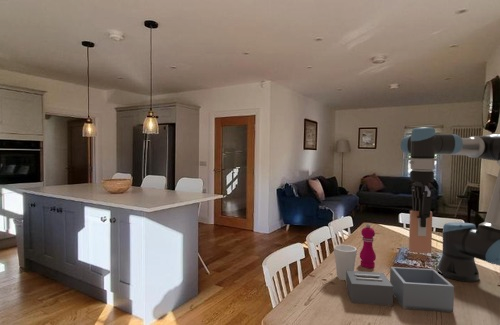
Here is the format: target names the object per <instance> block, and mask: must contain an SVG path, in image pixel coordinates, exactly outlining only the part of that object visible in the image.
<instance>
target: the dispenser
mask: <svg viewBox="0 0 500 325" xmlns="http://www.w3.org/2000/svg"><path fill="white" fill-rule="evenodd" d="M345 282H346V283H345V288H346V291H347V294H348V297H349V300H350V302H351V303H352V304H363V305H365V304H366V305H377V306H378V305H379V306H393V305H394V304H393V303H394V302H393V301H394V300H393V297H394V294H393V286H392V284H391V283H390V279H389V278H388V277H387V276H386V274H385V273H384V272H375V271H359V270H354V271H346V281H345Z"/></svg>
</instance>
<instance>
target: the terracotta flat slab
mask: <svg viewBox="0 0 500 325" xmlns="http://www.w3.org/2000/svg"><path fill="white" fill-rule="evenodd" d="M417 216H419V211H413V210H409V230H408V231H409V232H408V234H409V235H408V236H409V238H408V252H410V253H418V254H432V247H433V246H432V244H433V243H432V238H433V236H432V235H433V212H432V211H430V218H427V224H426V236H418V235H417V229H418V218H417Z"/></svg>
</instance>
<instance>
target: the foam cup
mask: <svg viewBox="0 0 500 325" xmlns="http://www.w3.org/2000/svg"><path fill="white" fill-rule="evenodd" d="M357 250H358V249H357V247H355V246H354V245H349V244H336V245H334V246H333V254H334V260H335V267H336V268H335V269H336V275H337V277H338V278H339V279H338V278H337V277H336V278H337V279H338V280H340V279H341V281H344V280H345V281H344V282H346V271H355V265H356V264H355V263H356V258H357V255H358V254H357V252H358V251H357Z"/></svg>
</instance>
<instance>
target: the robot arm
mask: <svg viewBox="0 0 500 325" xmlns="http://www.w3.org/2000/svg"><path fill="white" fill-rule="evenodd" d="M400 149H401V151H402V152H403V153H405V154H410V161H409V164H410V170H411V171H409V174H410V175H409V180H410V181H411V182H414V186H411V187H410V189H411V199H412V200H411V201H412V206H411V207H412V211H419V216H417V218H418V229H417V235H418V236H426V224H427V218H430V211H431V209H432V201H433V199H432V198H433V195H434V191H433V190H430V189H431V188H430V184H429V183H433V182H434V181H435V172H434V171H433V170H435V162H436V161H435V159H436V158H435V155H443V156H446V155H448V156H449V155H450V156H466V157H468V158H470V159H471V158H473V159H481V160H489V161H496V163H497V164H498V166H499V167H500V133H494V134H487V135H471V136H469V137H461V136H460V135H458V134H453V133H436V129H435V127H431V126H430V127H427V126H426V127H423V126H422V127H414V128H412V129H411V134H410V135H407V136H405V137H403V138H402V139H401V140H400ZM431 212H432V211H431ZM442 229H443V230H442V255H441V258H440V259H439V262H438V263H437V264H438V265H437V270H438V269H439V270H440V271H441V272H442V274H443V275H442V277H444V278H448V279H451V280H454V281H459V282H467V283H470V282H471V283H473V282H478V281H479V279H480V273H479V270H478V267H477V264H476V260H475V259H478V260H481V261H484V262H487V263H489V264H490V265H491V264H492V265H496V266H499V267H500V168H499V170H498V172H497V177H496V180H495V183H494V188H493V191H492V193H491V199H490V201H489V205H488V208H487V211H486V216H485V219H484V221H483V222H481V223H479V224H478V225H477V226H476V224H475V223H471V222H470V223H469V222H446V223H445V224H444V225H443V228H442Z"/></svg>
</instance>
